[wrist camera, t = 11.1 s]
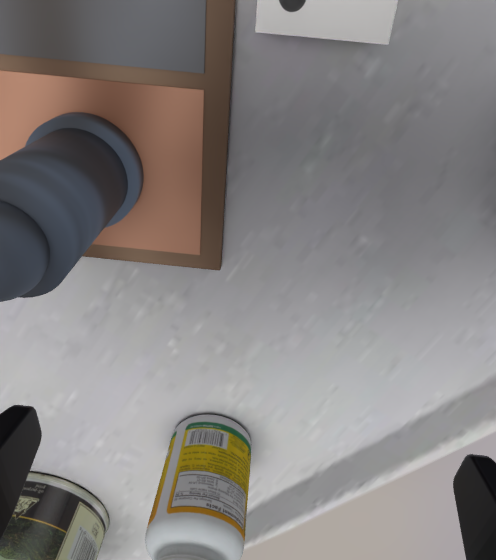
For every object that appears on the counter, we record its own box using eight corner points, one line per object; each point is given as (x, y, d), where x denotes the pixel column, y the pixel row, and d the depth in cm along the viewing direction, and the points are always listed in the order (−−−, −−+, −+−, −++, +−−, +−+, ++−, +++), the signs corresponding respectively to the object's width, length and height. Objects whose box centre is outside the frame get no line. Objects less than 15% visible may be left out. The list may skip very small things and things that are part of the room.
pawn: (140, 117, 18) (36, 202, 10) (146, 224, 21) (65, 355, 13) (24, 106, 18) (-164, 182, 10) (44, 214, 21) (-95, 338, 13)
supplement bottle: (215, 399, 27) (185, 566, 19) (268, 445, 29) (262, 615, 21) (155, 432, 29) (106, 596, 21) (209, 473, 31) (183, 638, 23)
